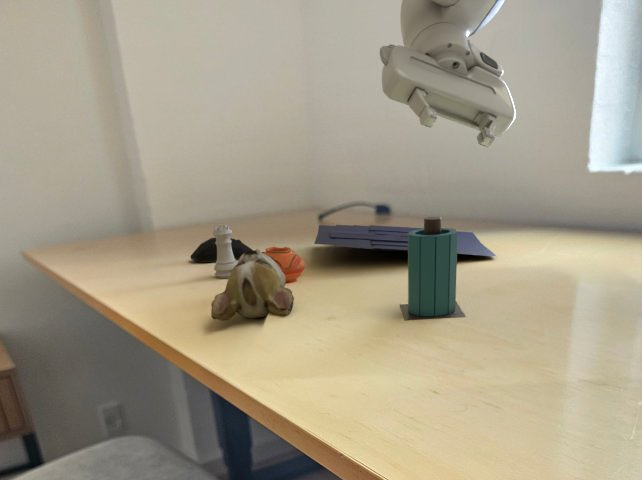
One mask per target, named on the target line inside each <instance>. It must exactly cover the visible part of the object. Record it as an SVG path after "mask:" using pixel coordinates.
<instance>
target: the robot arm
mask: <svg viewBox="0 0 642 480" xmlns="http://www.w3.org/2000/svg"><path fill="white" fill-rule="evenodd" d="M505 1H506V0H402V1H401V5H400V13H399V14H400V16H399V20H400V21H399V23H400V33H401V38H402V42H403V45H399V44H398V45H395V44H388V45H382V46H381V47H380V49H379V57H380V61H381V62H382V64H383V66H382V70H381V86H382V88H381V89H382V93H384V95H385V96H386V97H387V98H388V99H390V100H392V101H395V102H397V103H401V104H403V105H406V106H409V108H410V109H411V111H412V112H413V113H414V114H415V115H416V116H417V117H418V119H419V122H420V123H419V124H420V125H421V126H424V127H427V128H430V129H431V128H432V127H433V126H434V124H435V123H436V121H437V119H438V117H440V118H443V119H446V120H448V121H450V122H451V121H452V122H453V123H454V122H455V123H456V124H459V125H463V126H465V127H468V128H472V129H474V130H476V131H479V133H477V136H476V140H477V142H478V145H479V146H483V147H485V148H489V147H490V146H492V144H493V142H494V141H495V138H499V137H502V136H503V135H504V134H505V133H506V132H507V131H508V129H509V128H510V127H511V126H512V124H513V123H514V121H515V120H516V116H517V112H516V107H515V103H514V100H513V97H512V95H511V92H510V88H509V87H508V85H507V84H506V82H505V81H504V80H503V79H502V76H503V75H504V69H503V66H502V65H501V64H500V63H499V62H497V61H496V60H494V58H491V57H490V56H489V55H488V54H487V53H484V51H481V49H480V48H479V47H478V46H477V45H475V43H474V42H473V41H471V39H469V38H470V37H472V36H473V35H476V33H477V32H479V31H480V30H481V29H483V27H485V26H486V25H487V24H488V23H489V22H491V20H492V19H493V18H494V17H495V16H496V14H497V13H498V12H499V10H500V9H501V8H502V6H503V5H504V3H505Z"/></svg>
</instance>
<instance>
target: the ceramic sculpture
mask: <svg viewBox="0 0 642 480" xmlns="http://www.w3.org/2000/svg"><path fill="white" fill-rule="evenodd" d="M262 252H263V251H261V250H260V249H258V248H256V249H255V250H253V249H252V250H248V251H246V252H245V253H244V254H243V255H242V256H241V257H240V258H239V259H237V265H236V266H235V267H234V268H233V270H232V271H231V274H230V275H229V278H227V283H226V287H225V290H224V291H222V292H220V293H218V294H215V296H214V299H213V300H212V302H211V309H210V311H211V313H210V314H211V315H210V317H211V319H212V320H217V321H221V322H223V321H229V320H231V319H232V318H233V317H235V315H236V314H238V315H240V316H242V317H244V318H250V319H255V318H263V317H266V316H268V315H269V313H271V314H272V315H276V316H286V315H288V314H290V313H291V312H292V311H293V309H294V308H293V307H294V303H295V302H294V301H295V297H294V294H293V291H292V290H291V289H290V288H289V287H286V283H285V281H286V280H285V275H284V273H283V272H282V271H281V270H280V268H279V266H278V265H277V264H276V263H275V262H274V261H273V260H272V259H271V257H269V256H267V255H265V254H264V253H262Z"/></svg>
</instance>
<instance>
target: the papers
mask: <svg viewBox="0 0 642 480" xmlns="http://www.w3.org/2000/svg"><path fill="white" fill-rule="evenodd" d="M418 229H424V227H409V226H393V225H391V226H389V225H373V224H372V225H371V224H370V225H357V224H353V225H349V224H348V225H347V224H336V225H329V224H328V225H325V224H319V225H318V229H317V234H316V237H315V241H314V245H325V246H333V247H340V248H341V247H343V248H355V249H359V250H375V251H390V252H391V251H392V252H408V232H411V231H414V230H418ZM456 231H457V232H458V238H457V255H470V256H471V255H472V256H485V257H486V256H487V257H497V254H495V253H494V252H493V251H491V250H490V249H489V248H488V247H487V246H485V245H484V244H483V243H481V240H479V238H478V237H477V236H476V235H475V233H474V232H473V231H469V232H468V231H458V230H456Z"/></svg>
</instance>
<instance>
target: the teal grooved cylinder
mask: <svg viewBox="0 0 642 480" xmlns="http://www.w3.org/2000/svg"><path fill="white" fill-rule="evenodd" d="M457 231H458V230H457V229H456V228H451V227H450V228H449V227H441V234H439V235H424V229H418V230H414V231H411V232H408V251H407V304H408V310H409V313H410V314H414V315H417V316H431V317H433V316H441V315H447V314H450V313H452V312H454V311H455V304H456V301H457V300H456V299H457V266H458V254H457V238H458V232H457Z"/></svg>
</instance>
